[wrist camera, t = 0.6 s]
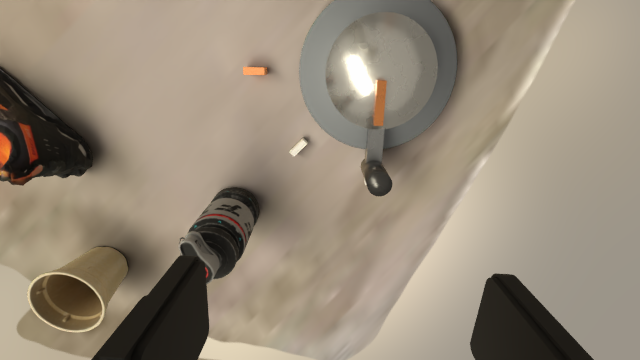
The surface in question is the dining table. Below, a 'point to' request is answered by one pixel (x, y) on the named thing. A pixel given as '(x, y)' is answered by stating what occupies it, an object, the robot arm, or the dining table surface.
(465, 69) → the dining table surface
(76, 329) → the flower pot
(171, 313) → the robot arm
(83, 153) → the athletic shoe
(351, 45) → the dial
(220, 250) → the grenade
